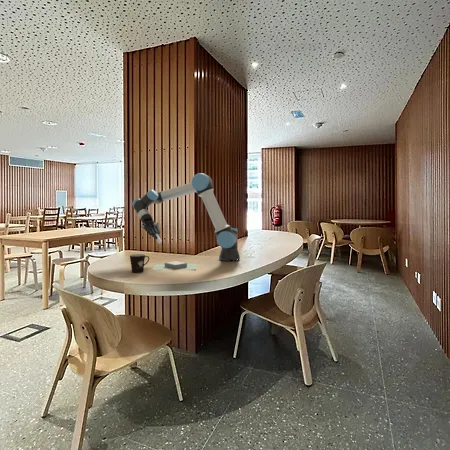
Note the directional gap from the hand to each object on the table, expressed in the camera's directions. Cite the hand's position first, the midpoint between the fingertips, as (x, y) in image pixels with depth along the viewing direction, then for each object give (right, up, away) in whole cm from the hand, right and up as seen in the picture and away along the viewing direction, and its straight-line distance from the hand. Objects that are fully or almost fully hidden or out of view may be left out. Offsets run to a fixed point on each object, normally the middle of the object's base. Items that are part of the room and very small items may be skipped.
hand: (160, 242), depth 206 cm
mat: (+12, -15, -10) cm, 22 cm away
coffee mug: (-7, -16, -22) cm, 28 cm away
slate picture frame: (+8, -13, -7) cm, 17 cm away
